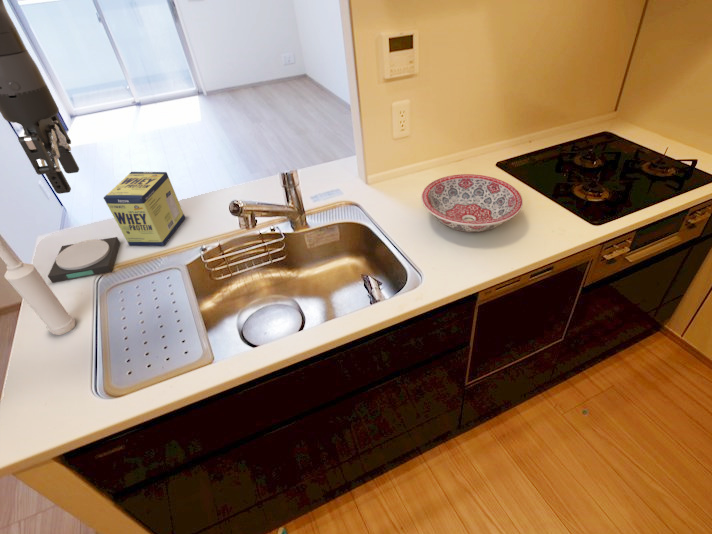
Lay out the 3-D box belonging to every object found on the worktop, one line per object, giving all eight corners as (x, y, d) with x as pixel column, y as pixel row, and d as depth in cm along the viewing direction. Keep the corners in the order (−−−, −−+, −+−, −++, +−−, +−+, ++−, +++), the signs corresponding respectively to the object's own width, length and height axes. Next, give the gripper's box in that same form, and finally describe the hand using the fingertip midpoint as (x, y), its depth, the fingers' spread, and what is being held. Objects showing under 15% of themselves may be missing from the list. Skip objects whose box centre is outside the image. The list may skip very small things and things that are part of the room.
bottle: (81, 320, 100) (14, 229, 83) (66, 336, 96) (-7, 245, 79) (61, 318, 100) (-10, 228, 83) (45, 334, 96) (-33, 243, 79)
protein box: (128, 246, 121) (101, 197, 111) (153, 217, 133) (131, 170, 122) (164, 246, 121) (141, 197, 110) (186, 217, 132) (167, 170, 122)
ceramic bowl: (536, 238, 122) (542, 213, 116) (441, 257, 116) (443, 232, 110) (491, 190, 142) (494, 168, 137) (408, 205, 136) (408, 182, 131)
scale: (52, 283, 110) (45, 274, 108) (66, 252, 120) (60, 243, 118) (111, 272, 113) (106, 263, 111) (120, 243, 123) (115, 234, 120)
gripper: (1, 75, 70) (53, 169, 81) (-29, 100, 60) (35, 203, 71) (54, 72, 72) (97, 163, 83) (33, 95, 62) (86, 196, 73)
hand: (69, 181), depth 77 cm, fingers open, 8 cm apart
